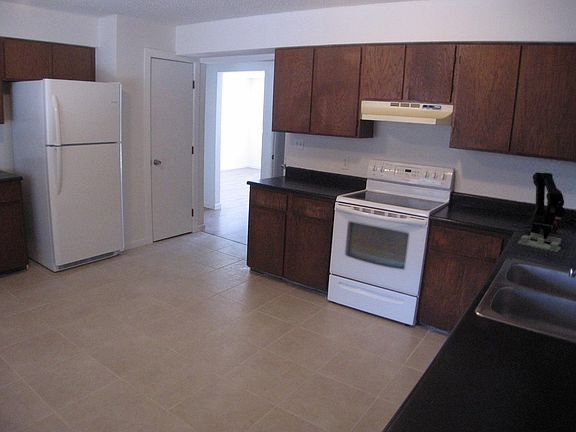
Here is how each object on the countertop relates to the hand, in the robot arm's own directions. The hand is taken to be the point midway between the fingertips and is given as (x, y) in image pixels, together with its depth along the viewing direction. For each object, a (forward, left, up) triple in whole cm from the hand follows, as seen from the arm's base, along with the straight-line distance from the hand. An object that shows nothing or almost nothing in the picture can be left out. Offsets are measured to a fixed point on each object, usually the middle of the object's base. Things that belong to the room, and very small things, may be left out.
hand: (545, 238), depth 275 cm
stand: (+17, 0, -1) cm, 17 cm away
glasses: (+2, 0, -1) cm, 2 cm away
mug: (-31, -2, -2) cm, 31 cm away
